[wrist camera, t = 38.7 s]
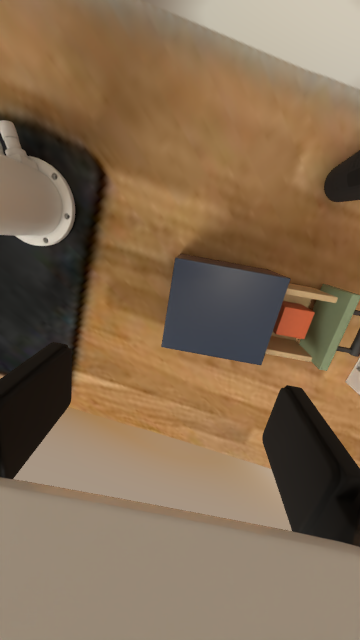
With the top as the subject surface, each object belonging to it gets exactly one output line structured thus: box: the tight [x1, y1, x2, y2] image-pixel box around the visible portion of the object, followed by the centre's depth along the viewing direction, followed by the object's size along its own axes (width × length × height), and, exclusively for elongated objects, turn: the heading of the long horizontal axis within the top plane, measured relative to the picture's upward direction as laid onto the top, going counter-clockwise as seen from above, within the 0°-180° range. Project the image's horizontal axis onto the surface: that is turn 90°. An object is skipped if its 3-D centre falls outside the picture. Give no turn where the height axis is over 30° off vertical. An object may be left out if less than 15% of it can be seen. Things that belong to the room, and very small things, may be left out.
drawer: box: [265, 283, 360, 371], centre depth 35 cm, size 19×12×7 cm, turn 80°
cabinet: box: [161, 254, 290, 365], centre depth 35 cm, size 15×13×9 cm
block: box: [273, 301, 315, 339], centre depth 35 cm, size 4×4×4 cm
